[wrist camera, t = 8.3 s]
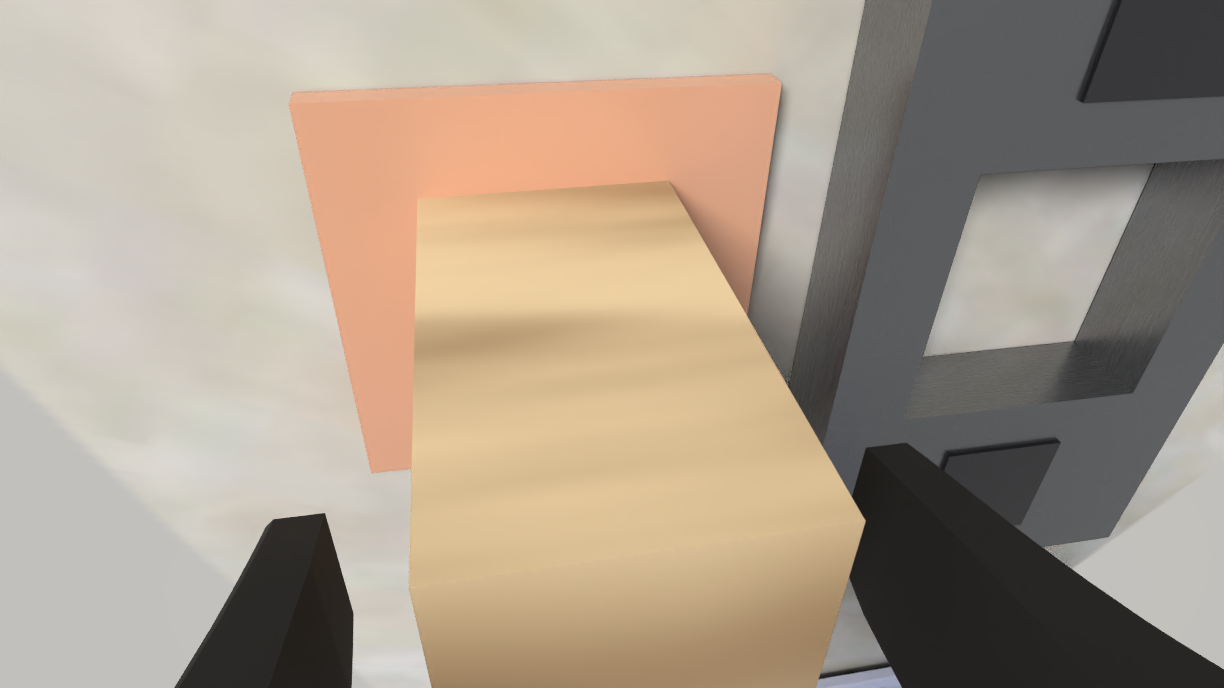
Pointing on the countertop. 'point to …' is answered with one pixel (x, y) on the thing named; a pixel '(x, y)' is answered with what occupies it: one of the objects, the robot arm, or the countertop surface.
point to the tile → (509, 189)
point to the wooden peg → (608, 457)
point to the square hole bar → (935, 217)
